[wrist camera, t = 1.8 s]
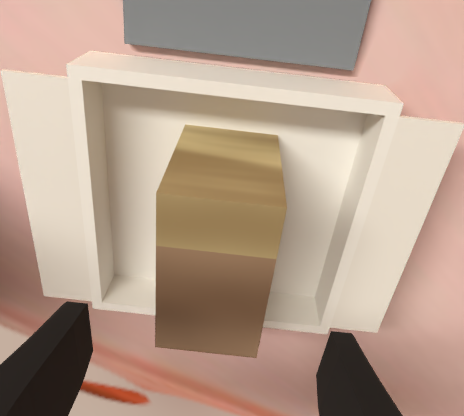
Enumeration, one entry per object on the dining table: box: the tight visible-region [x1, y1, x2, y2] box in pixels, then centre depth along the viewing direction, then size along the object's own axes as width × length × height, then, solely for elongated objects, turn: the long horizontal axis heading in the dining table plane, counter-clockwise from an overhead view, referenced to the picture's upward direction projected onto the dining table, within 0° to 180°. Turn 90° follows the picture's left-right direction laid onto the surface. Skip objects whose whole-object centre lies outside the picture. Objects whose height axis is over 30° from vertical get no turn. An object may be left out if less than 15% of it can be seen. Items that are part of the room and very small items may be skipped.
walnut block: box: [155, 124, 287, 358], centre depth 17 cm, size 7×4×6 cm, turn 174°
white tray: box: [1, 51, 464, 334], centre depth 19 cm, size 17×12×2 cm
